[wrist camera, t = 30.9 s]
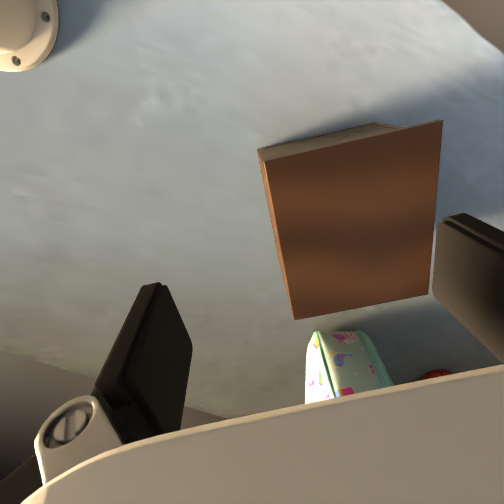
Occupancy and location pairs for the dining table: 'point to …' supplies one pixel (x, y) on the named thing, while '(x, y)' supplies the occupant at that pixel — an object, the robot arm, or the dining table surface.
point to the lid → (357, 219)
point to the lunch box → (342, 365)
